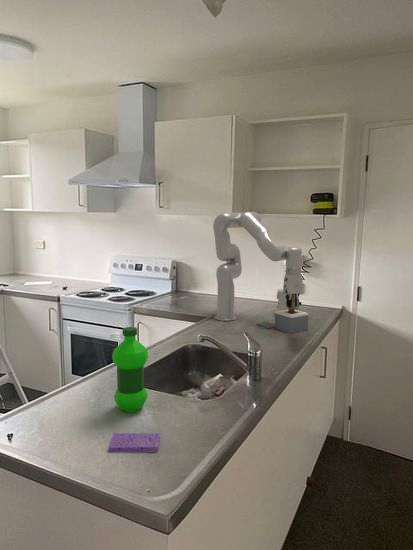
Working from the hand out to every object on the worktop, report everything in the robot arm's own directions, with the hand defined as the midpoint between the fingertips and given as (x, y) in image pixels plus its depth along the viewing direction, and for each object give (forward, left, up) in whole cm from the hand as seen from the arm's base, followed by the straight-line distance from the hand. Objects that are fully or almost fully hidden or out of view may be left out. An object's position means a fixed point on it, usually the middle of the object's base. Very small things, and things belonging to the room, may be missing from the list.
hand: (291, 306), depth 217 cm
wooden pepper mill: (0, 0, -5) cm, 5 cm away
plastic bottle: (+39, -107, -12) cm, 115 cm away
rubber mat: (-11, -6, -12) cm, 18 cm away
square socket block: (0, 0, -12) cm, 12 cm away
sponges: (+58, -114, -13) cm, 129 cm away
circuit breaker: (-22, +20, -12) cm, 32 cm away
